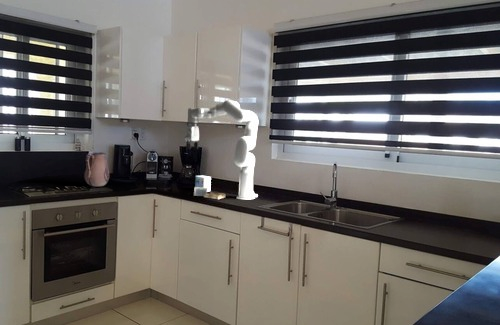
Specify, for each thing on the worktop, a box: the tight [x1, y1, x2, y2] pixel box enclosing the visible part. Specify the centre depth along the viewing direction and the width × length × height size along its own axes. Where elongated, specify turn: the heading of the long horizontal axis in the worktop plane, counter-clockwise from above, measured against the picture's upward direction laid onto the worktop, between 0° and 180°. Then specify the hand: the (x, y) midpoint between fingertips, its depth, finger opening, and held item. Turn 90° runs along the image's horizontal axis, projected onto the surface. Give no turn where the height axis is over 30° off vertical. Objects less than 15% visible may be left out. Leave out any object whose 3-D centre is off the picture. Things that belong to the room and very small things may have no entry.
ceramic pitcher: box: [84, 151, 110, 188], centre depth 307 cm, size 18×21×25 cm
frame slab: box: [193, 186, 209, 197], centre depth 287 cm, size 9×4×6 cm, turn 94°
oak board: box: [203, 191, 227, 200], centre depth 282 cm, size 11×10×2 cm
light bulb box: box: [194, 174, 212, 192], centre depth 307 cm, size 11×7×11 cm, turn 45°
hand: (192, 148), depth 299 cm, fingers open, 9 cm apart
